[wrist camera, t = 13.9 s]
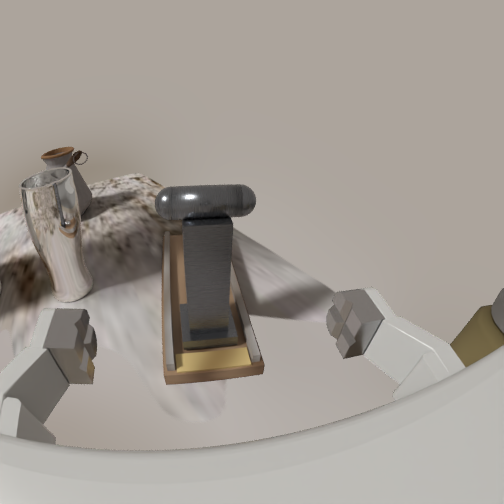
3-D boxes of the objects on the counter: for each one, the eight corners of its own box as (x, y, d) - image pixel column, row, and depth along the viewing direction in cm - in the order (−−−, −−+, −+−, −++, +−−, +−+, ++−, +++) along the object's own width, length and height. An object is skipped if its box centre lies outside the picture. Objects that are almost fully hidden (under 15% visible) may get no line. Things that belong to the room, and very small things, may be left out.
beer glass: (71, 266, 37) (48, 165, 29) (106, 278, 36) (85, 167, 28) (40, 295, 31) (6, 187, 23) (74, 311, 30) (39, 192, 22)
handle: (170, 350, 26) (151, 203, 18) (168, 272, 35) (160, 154, 28) (249, 343, 27) (266, 198, 20) (228, 268, 37) (234, 152, 29)
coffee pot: (37, 214, 50) (25, 145, 41) (83, 197, 57) (76, 130, 49) (63, 258, 38) (43, 162, 30) (125, 232, 46) (116, 142, 38)
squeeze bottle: (475, 405, 22) (574, 271, 12) (447, 460, 17) (587, 320, 8) (424, 369, 27) (506, 224, 17) (389, 417, 22) (499, 255, 13)
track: (166, 384, 24) (162, 369, 23) (163, 244, 44) (162, 229, 42) (262, 374, 26) (265, 358, 25) (222, 241, 46) (223, 226, 45)
